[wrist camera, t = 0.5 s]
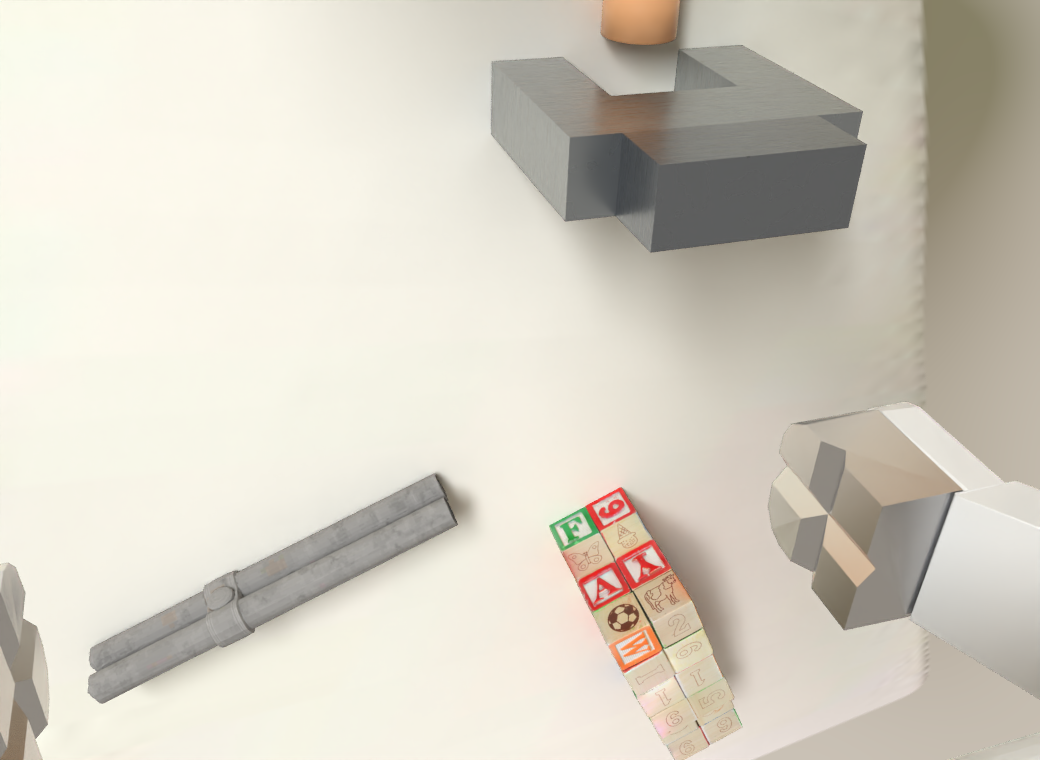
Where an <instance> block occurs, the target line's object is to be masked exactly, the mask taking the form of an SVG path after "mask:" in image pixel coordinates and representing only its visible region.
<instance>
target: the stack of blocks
mask: <svg viewBox="0 0 1040 760" xmlns="http://www.w3.org/2000/svg"><path fill="white" fill-rule="evenodd" d="M549 527H550V530H551V532H552V534H553V536H554V538H555V540H556V543H557V545H558V547H559V549H560V551H561V553H562V555H563V557H564V559H565V561H566V562H567V564H568V566H569V568H570V570H571V572H572V574H573V576H574V578H575V581H576V583H577V585H578V587H579V589H580V591H581V593H582V595H583V597H584V599H585V601H586V603H587V605H588V607H589V609H590V611H591V613H592V615H593V617H594V618H595V620H596V623H597V625H598V627H599V629H600V631H601V633H602V635H603V638H604V640H605V642H606V644H607V646H608V648H609V649H610V651H611V653H612V655H613V656H614V658H615V660H616V661H617V663H618V665H619V667H620V669H621V671H622V673H623V675H624V677H625V678H626V680H627V681H628V683H629V685H630V686H631V688H632V690H633V692H634V694H635V697H636V699H637V700H638V702H639V704H640V705H641V707H642V708H643V710H644V712H645V713H646V715H647V717H649V719H650V721H651V722H652V724H653V726H654V728H655V729H656V731H657V733H658V735H659V737H660V739H661V740H662V742H663V744H664V745H667V747H668V749H669V751H670V753H671V755H672V756H673V758H674V760H685V759H686V758H688V757H690V756H692V755H694V754H696V753H697V752H699V751H701V750H703V749H705V748H707V747H708V746H709V745H710V744H712V743H714V742H716V741H718V740H720V739H722V738H724V737H726V736H727V735H729V734H731V733H733V732H734V731H736V730H738V729H740V728H742V724H741V722H740V720H739V718H738V715H737V713H736V711H735V709H734V705H733V703H732V701H731V700H733V699H734V696H733V694H732V691H731V689H730V687H729V685H728V683H727V681H726V679H725V677H724V675H723V673H722V672H721V670H720V668H719V666H718V664H717V662H716V660H715V658H714V656H713V649H712V646H711V644H710V642H709V640H708V638H707V635H706V633H705V630H704V628H703V624H702V622H701V620H700V617H699V615H698V613H697V610H696V608H695V606H694V603H693V601H692V600H691V598H690V596H689V595H688V593H687V592H686V590H685V588H684V587H683V585H682V584H681V582H680V580H679V579H678V577H677V576H676V574H675V573H674V572H673V570H672V568H671V566H670V564H669V563H668V561H667V559H666V558H665V556H664V554H663V553H662V551H661V550H660V548H659V547H658V545H657V544H656V542H655V541H654V540H653V538H652V537H651V535H650V534H649V532H648V531H647V529H646V528H645V526H644V524H643V523H642V521H641V519H640V517H639V515H638V512H637V511H636V509H635V508H634V506H633V505H632V503H631V502H630V500H629V499H628V497H627V495H626V494H625V492H624V490H623V489H622V488H618V489H617V490H615V491H613V492H611V493H609V494H607V495H605V496H603V497H602V498H600V499H598V500H596V501H594V502H592V503H590V504H589V505H587V506H585V507H584V508H582V509H580V510H578V511H576V512H574V513H573V514H571V515H569V516H567V517H565V518H563V519H561V520H559V521H557V522H556V523H553V524H552V525H550V526H549Z"/></svg>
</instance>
